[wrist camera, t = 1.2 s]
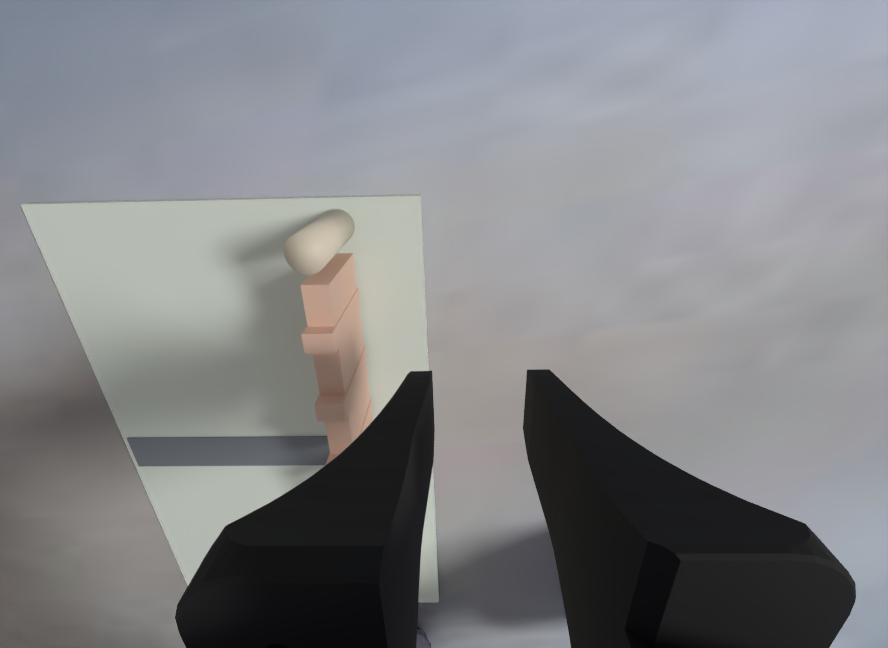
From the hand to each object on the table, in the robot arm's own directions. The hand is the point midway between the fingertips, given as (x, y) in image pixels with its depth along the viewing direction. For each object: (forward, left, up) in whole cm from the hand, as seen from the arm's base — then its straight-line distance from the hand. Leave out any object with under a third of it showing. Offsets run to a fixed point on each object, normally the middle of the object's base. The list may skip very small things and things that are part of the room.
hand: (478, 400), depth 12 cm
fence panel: (-2, +5, -8) cm, 10 cm away
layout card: (-9, +10, -8) cm, 16 cm away
